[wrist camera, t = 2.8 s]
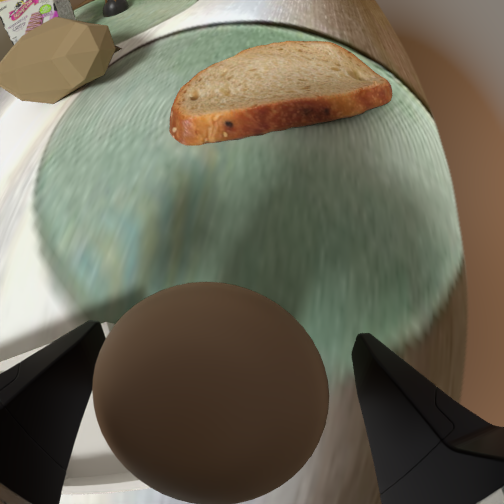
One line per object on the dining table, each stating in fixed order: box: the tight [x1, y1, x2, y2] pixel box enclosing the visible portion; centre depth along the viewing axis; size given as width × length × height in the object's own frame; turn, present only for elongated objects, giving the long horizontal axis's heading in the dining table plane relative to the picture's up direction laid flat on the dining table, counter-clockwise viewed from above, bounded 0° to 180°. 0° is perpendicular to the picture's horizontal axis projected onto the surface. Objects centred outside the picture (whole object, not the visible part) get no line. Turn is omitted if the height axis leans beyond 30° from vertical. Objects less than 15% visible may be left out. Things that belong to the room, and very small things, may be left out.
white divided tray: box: [0, 322, 151, 494], centre depth 12 cm, size 9×18×2 cm, turn 113°
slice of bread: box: [169, 41, 392, 145], centre depth 21 cm, size 18×18×4 cm
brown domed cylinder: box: [92, 282, 329, 504], centre depth 9 cm, size 5×5×12 cm
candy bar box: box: [0, 0, 76, 45], centre depth 22 cm, size 11×5×16 cm, turn 92°
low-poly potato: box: [0, 17, 122, 104], centre depth 20 cm, size 15×11×12 cm
